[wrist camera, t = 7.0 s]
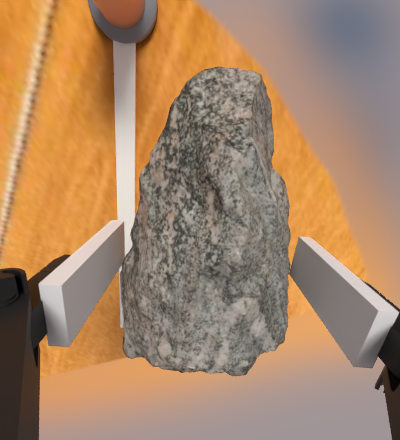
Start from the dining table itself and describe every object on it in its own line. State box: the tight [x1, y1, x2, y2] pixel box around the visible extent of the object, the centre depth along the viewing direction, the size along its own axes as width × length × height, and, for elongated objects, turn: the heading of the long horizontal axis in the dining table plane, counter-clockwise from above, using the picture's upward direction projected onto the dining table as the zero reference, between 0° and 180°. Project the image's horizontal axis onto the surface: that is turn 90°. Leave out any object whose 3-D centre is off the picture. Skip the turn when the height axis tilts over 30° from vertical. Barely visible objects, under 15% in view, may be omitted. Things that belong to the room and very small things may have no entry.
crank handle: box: [88, 0, 158, 328], centre depth 15 cm, size 4×30×8 cm, turn 174°
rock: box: [120, 67, 291, 376], centre depth 13 cm, size 18×10×10 cm
